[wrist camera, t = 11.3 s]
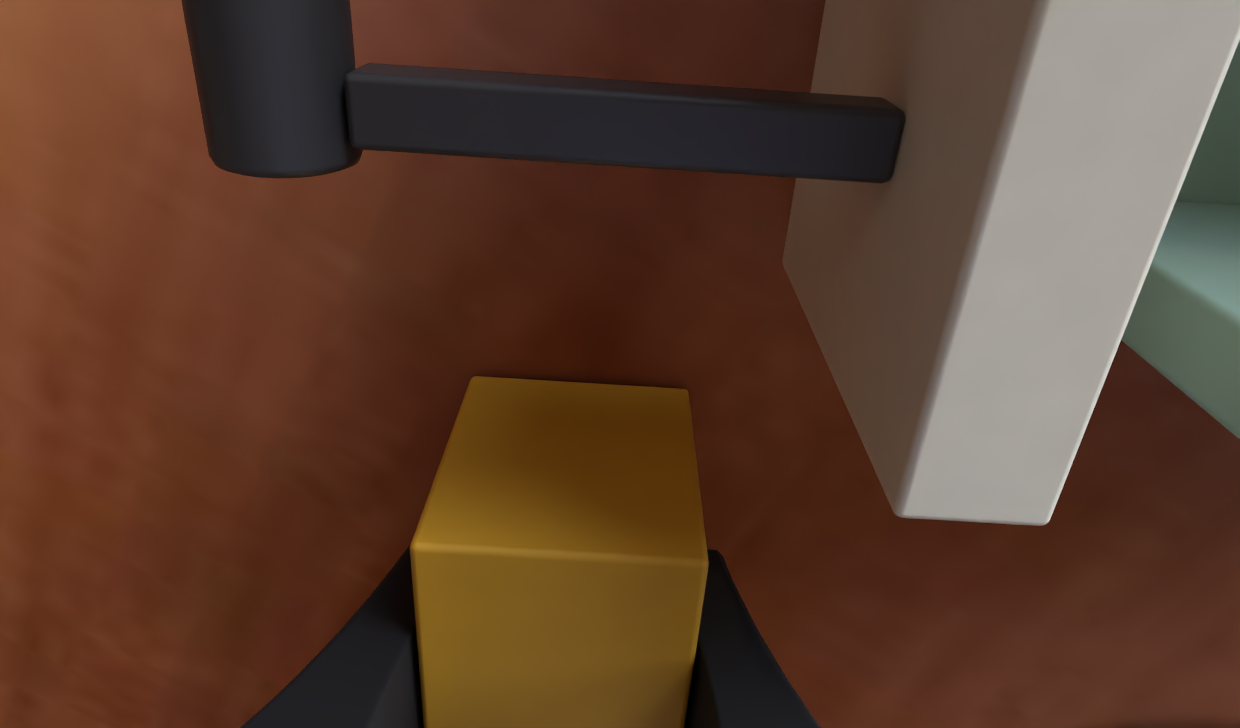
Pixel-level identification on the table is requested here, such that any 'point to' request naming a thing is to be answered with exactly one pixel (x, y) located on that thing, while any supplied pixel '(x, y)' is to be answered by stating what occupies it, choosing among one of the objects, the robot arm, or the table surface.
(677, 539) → the block
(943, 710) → the table surface
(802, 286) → the drawer
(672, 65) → the table surface
